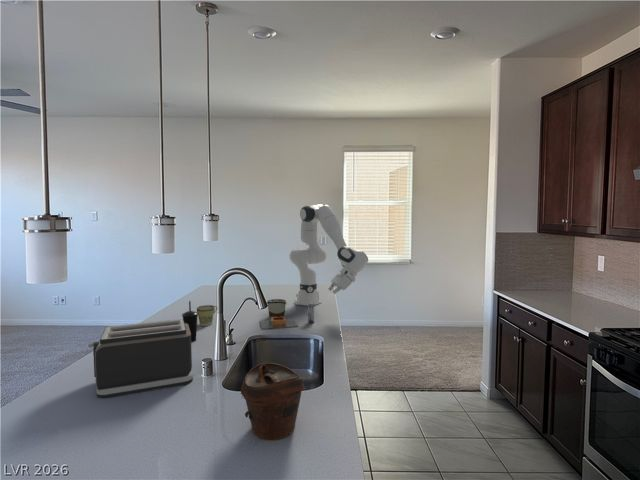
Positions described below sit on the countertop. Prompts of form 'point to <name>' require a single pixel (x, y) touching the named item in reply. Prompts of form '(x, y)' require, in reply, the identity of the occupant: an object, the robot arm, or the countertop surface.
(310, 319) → the square-headed pin
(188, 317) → the drinking cup
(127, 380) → the toaster
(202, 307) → the ceramic cup
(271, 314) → the food container
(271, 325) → the grey base plate
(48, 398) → the countertop surface
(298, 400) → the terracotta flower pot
